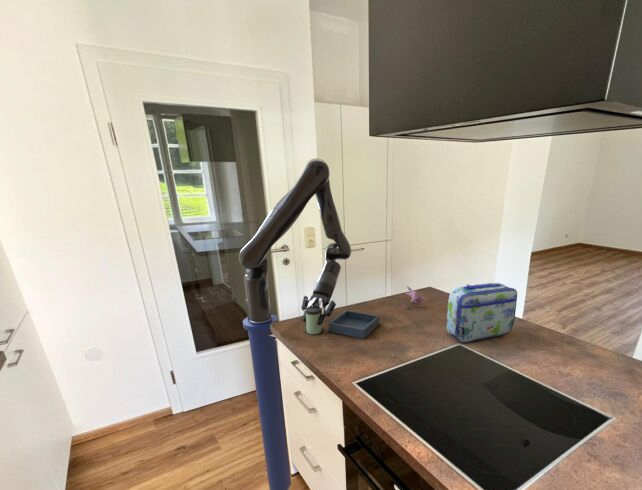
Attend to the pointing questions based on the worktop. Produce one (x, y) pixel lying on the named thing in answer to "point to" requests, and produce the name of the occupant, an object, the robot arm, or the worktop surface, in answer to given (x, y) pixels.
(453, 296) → the lunch box
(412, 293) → the lily
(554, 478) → the worktop surface
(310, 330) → the food flask
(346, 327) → the blue square tray
